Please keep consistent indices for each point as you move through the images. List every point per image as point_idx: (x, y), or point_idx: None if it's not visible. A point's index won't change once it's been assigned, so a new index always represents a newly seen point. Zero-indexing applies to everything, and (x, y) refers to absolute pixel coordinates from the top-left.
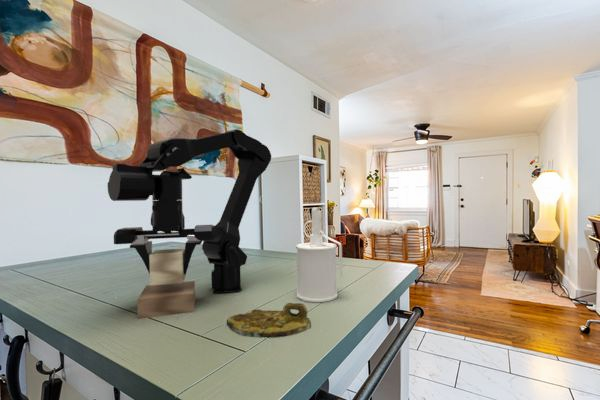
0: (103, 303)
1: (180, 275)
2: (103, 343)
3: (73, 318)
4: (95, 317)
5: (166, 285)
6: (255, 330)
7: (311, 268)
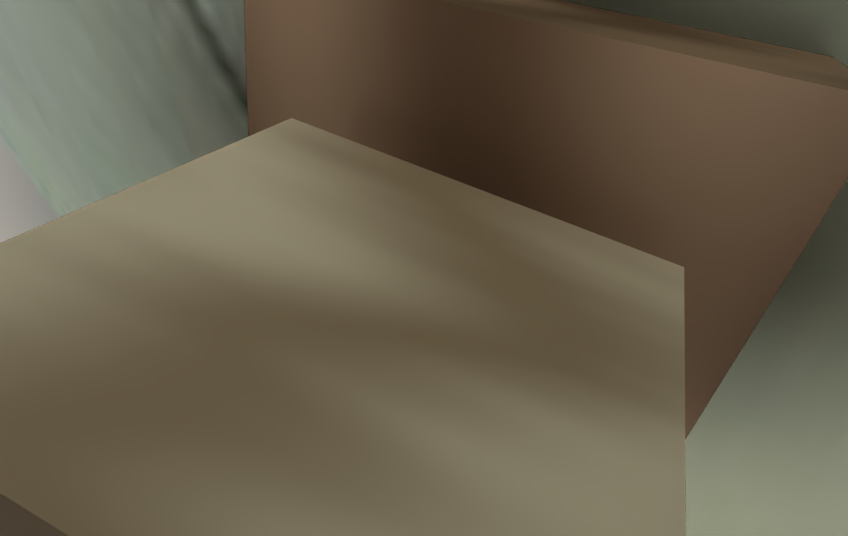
0: None
1: None
2: None
3: (24, 73)
4: (119, 131)
5: (453, 117)
6: None
7: None
